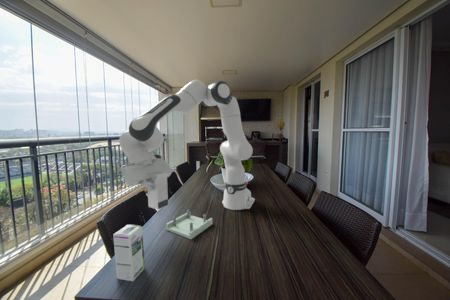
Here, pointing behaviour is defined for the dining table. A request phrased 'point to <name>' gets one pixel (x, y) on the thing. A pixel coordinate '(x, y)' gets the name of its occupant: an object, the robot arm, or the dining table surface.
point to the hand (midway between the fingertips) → (158, 187)
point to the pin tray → (188, 225)
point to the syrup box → (129, 252)
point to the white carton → (158, 190)
